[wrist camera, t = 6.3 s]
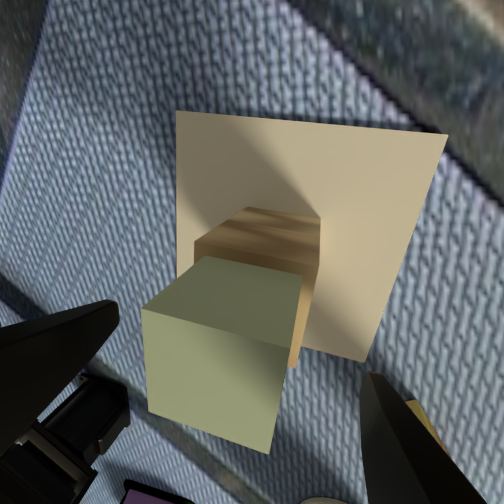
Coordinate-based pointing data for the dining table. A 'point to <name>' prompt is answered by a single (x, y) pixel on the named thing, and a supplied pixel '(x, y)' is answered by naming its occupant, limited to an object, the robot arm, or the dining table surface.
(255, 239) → the tower top block
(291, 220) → the tower base block
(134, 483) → the miniature room corner
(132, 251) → the dining table surface
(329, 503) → the bottle
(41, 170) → the dining table surface
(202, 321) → the sage cube
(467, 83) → the dining table surface
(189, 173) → the felt mat
